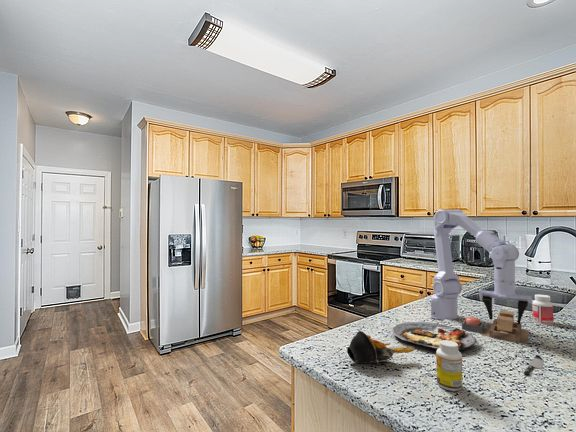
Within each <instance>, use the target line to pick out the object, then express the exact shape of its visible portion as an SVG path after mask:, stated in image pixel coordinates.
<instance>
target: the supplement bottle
mask: <svg viewBox="0 0 576 432" xmlns="http://www.w3.org/2000/svg"><path fill="white" fill-rule="evenodd" d="M435 355H436V356H435V357H436V361H435V362H436V383H437V384H438V386H439V387H441V389H443V390H447V391H451V392H458V391H460V390H462V388H463V354H462V353H461V352H460V351H459V350H458V344H457V343H455V342H453V341H448V340H442V341H440V348H438V349H437V348H436V353H435Z"/></svg>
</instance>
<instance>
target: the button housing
mask: <svg viewBox="0 0 576 432" xmlns="http://www.w3.org/2000/svg"><path fill="white" fill-rule="evenodd" d="M461 330H463V331H469V332H475V333H481V334H483V333H484V332H483V331H485V322H482V321H480V326H475V325H470V324H466V318H465V319H464V320H463V322H462V323H461Z"/></svg>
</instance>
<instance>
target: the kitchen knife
mask: <svg viewBox="0 0 576 432" xmlns="http://www.w3.org/2000/svg"><path fill="white" fill-rule="evenodd" d="M544 365H545V362H544V358H542V357H541V355H538V354H536V355H535V356H534V357H533V359H532V360H531V362H530V363H529V364H528V366H527V367H526V369H525V370H524V371H523V375H524V376H531V374H530V372H531V371H533V370H534V369H536V370H540V371H541V370H543V369H544Z"/></svg>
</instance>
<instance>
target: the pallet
mask: <svg viewBox="0 0 576 432" xmlns="http://www.w3.org/2000/svg"><path fill="white" fill-rule="evenodd" d="M483 331H484V332H482V336H483V337H488V338H494V339H499V340H503V341H508V342H512V343H513V342H514V343H517V344H518V343H519V344H523V345H524V344H525V345H528V341H529V331H530V330H529V329H526V328H525V329H524V328H522V322H520V325H519V324H518V323H517V322H515V321H514V327H513V334H509V333H507V332H502V331H500V332H499V331H497V318H493V320H492V323H491V322H488V323H487V325H486V327H485V328H484V330H483Z"/></svg>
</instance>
